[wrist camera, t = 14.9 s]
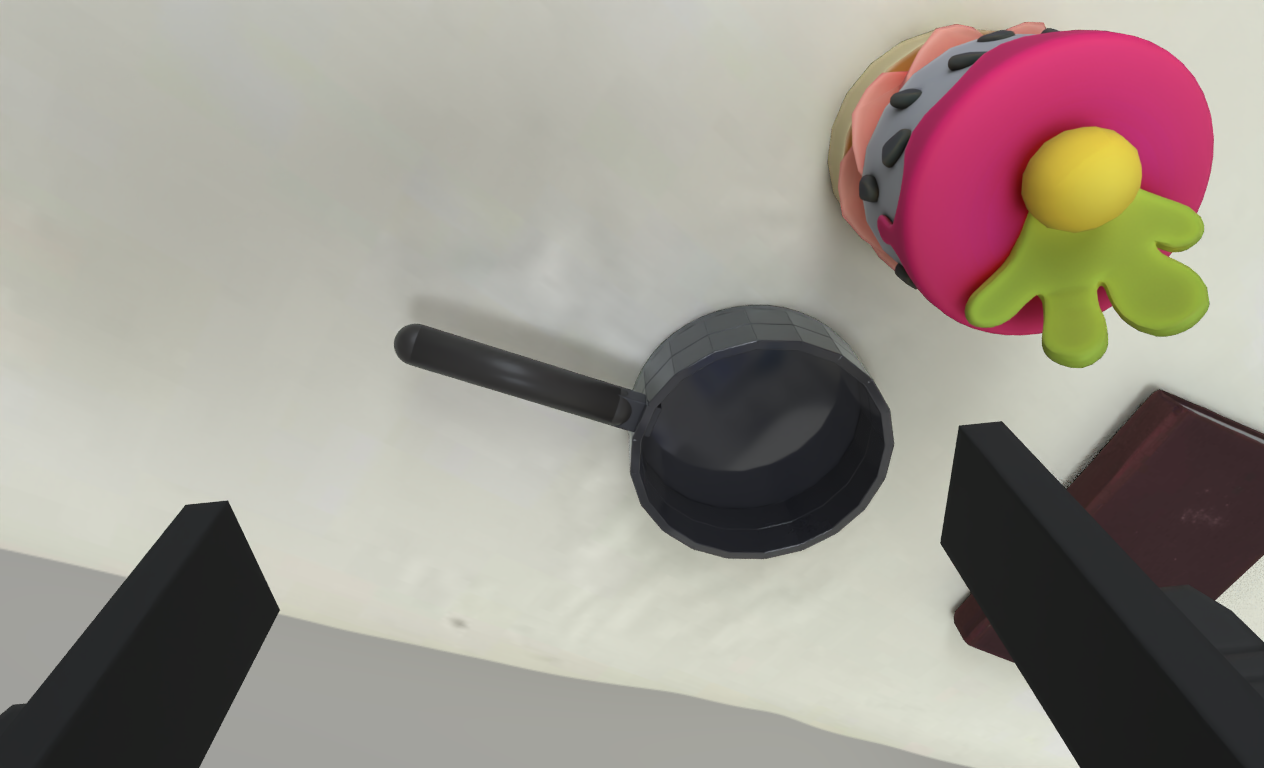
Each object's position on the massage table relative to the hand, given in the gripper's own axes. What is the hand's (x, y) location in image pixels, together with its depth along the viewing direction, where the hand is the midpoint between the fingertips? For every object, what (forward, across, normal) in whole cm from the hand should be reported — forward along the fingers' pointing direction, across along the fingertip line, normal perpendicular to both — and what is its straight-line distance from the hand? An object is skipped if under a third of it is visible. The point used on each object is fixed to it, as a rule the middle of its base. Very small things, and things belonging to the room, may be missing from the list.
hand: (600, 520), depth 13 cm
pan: (+24, +7, -13) cm, 28 cm away
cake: (+24, +16, +1) cm, 29 cm away
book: (+23, +30, -25) cm, 46 cm away
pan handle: (+21, -4, -8) cm, 23 cm away
